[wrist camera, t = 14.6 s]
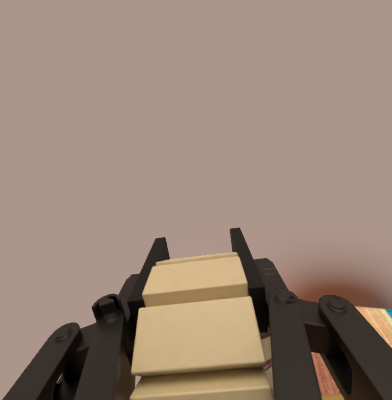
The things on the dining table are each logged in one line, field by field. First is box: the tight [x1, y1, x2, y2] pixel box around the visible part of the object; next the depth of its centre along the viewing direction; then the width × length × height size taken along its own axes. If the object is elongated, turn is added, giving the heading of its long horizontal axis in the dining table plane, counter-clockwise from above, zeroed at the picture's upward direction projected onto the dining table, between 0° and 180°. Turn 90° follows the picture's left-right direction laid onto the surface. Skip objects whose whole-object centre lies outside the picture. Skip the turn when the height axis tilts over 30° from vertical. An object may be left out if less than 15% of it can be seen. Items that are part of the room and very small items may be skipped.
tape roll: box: [130, 252, 273, 400], centre depth 12 cm, size 5×11×11 cm, turn 178°
